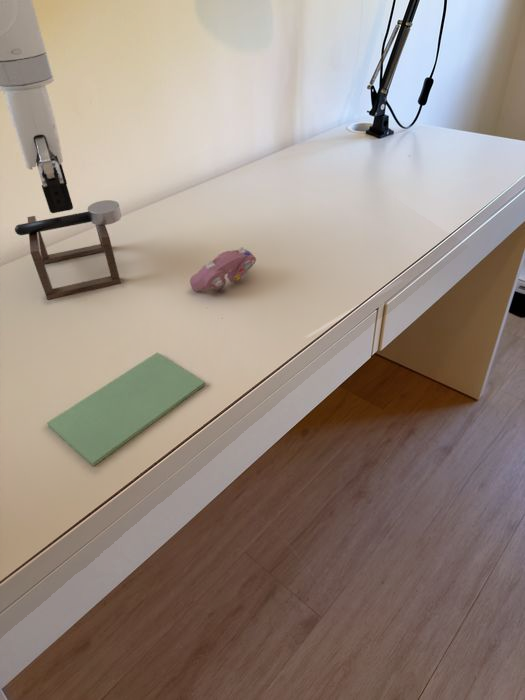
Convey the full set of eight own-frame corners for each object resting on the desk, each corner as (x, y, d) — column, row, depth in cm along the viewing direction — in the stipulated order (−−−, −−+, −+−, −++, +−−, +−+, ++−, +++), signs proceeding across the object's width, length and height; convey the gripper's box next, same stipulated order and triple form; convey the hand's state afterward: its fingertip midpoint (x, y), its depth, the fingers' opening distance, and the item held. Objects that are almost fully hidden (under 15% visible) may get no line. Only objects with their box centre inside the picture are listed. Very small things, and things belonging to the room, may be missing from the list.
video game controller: (203, 306, 79) (211, 278, 74) (186, 285, 81) (192, 255, 75) (253, 282, 84) (264, 254, 78) (236, 261, 85) (246, 232, 80)
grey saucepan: (17, 242, 78) (12, 230, 76) (16, 229, 81) (12, 217, 80) (124, 221, 82) (121, 209, 80) (119, 209, 85) (116, 198, 84)
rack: (47, 299, 80) (30, 253, 75) (42, 260, 90) (27, 216, 85) (120, 283, 83) (109, 236, 78) (108, 246, 93) (97, 203, 88)
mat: (93, 466, 55) (92, 463, 54) (47, 425, 59) (46, 422, 59) (205, 385, 64) (204, 381, 63) (157, 355, 68) (157, 352, 68)
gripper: (-10, 62, 73) (30, 182, 84) (-12, 90, 61) (36, 227, 71) (46, 56, 75) (78, 174, 86) (55, 81, 62) (92, 215, 73)
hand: (59, 198), depth 79 cm, fingers open, 9 cm apart
